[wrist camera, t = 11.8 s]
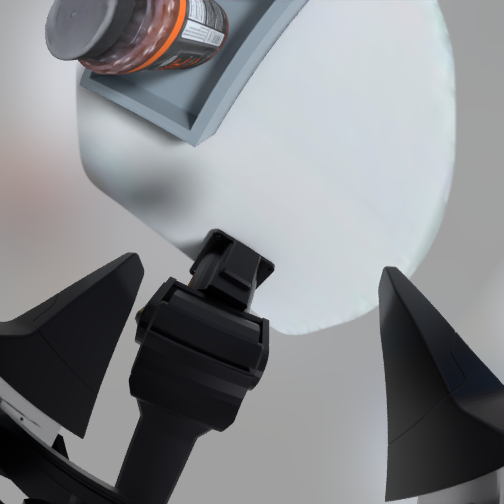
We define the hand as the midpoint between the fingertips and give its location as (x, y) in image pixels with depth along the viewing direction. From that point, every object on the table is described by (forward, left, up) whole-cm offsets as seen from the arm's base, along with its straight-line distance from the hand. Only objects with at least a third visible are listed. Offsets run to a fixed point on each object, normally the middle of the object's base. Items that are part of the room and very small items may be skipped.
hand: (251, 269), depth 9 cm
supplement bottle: (+5, +11, -12) cm, 17 cm away
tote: (+5, +11, -13) cm, 18 cm away
